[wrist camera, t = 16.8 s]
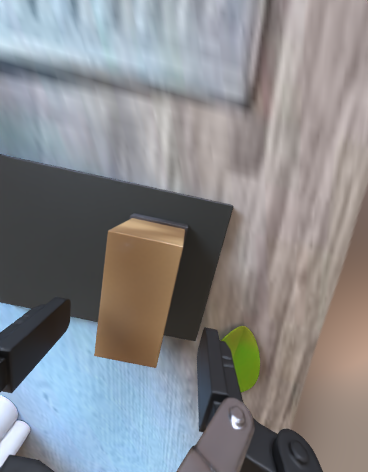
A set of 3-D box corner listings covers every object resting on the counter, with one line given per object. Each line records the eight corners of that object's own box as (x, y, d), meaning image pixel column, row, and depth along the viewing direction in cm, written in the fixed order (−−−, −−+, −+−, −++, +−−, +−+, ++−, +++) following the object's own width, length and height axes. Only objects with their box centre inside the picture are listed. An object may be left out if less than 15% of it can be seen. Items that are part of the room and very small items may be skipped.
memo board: (230, 204, 17) (233, 205, 16) (195, 333, 21) (195, 341, 20) (-3, 153, 17) (-17, 150, 16) (3, 294, 21) (-7, 301, 20)
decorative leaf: (182, 357, 23) (181, 364, 22) (242, 320, 20) (244, 326, 20) (222, 398, 23) (222, 406, 23) (283, 367, 21) (286, 375, 20)
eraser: (188, 224, 17) (187, 244, 11) (167, 316, 19) (158, 371, 14) (134, 213, 17) (104, 226, 11) (120, 306, 19) (90, 358, 13)
